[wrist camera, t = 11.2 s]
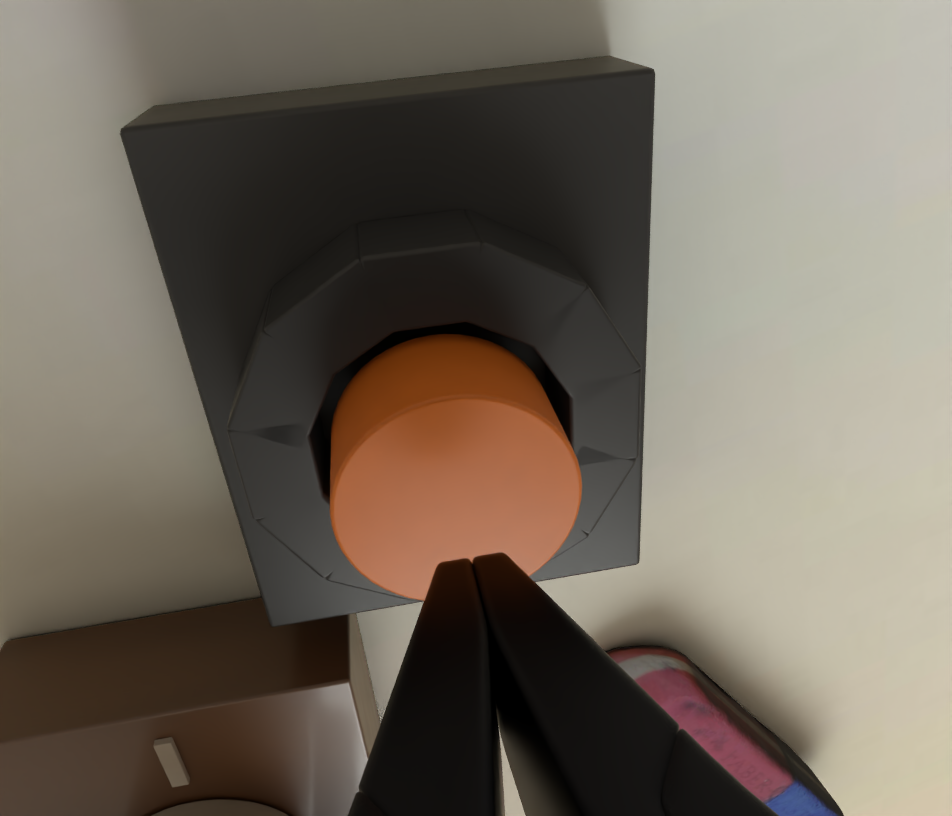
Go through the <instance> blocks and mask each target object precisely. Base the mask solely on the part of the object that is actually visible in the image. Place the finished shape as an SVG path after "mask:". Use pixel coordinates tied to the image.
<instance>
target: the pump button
mask: <svg viewBox="0 0 952 816" xmlns="http://www.w3.org/2000/svg"><path fill="white" fill-rule="evenodd" d="M581 495H582V479H581V471H580V467H579V463H578V459H577V457H576V455H575V453H574V450H573V448H572V446H571V444H570V442H569V440H568V438H567V436H566V434H565V432H564V430H563V428H562V426H561V424H560V422H559V420H558V418H557V416H556V413H555V411H554V409H553V407H552V405H551V403H550V401H549V399H548V397H547V395H546V393H545V391H544V389H543V387H542V385H541V383H540V382H539V380H538V378H537V377H536V375H535V374H534V372H533V371H532V370H531V369H530V368H529V367H528V366H527V365H526V363H525V362H523V361H522V360H521V359H520V358H519V357H517V356H516V355H515V354H513V353H512V352H510V351H509V350H507V349H505V348H504V347H502V346H500V345H497V344H495V343H493V342H491V341H488V340H484V339H481V338H478V337H473V336H467V335H461V334H438V335H428V336H423V337H419V338H414V339H411V340H408V341H405V342H402V343H400V344H398V345H395V346H393V347H391V348H389V349H387V350H385V351H384V352H382V353H381V354H379V355H378V356H376V357H374V358H373V359H372V360H371V361H369V362H368V363H367V364H366V365H365V366H363V367H362V368H361V369H360V370H359V371H358V372H357V374H356V375H355V376H354V377H353V378H352V379H351V381H350V382H349V383H348V385H347V386H346V388H345V389H344V391H343V393H342V395H341V397H340V399H339V401H338V403H337V406H336V409H335V412H334V415H333V421H332V426H331V469H330V518H331V525H332V529H333V532H334V535H335V538H336V541H337V542H338V544H339V546H340V548H341V550H342V552H343V553H344V555H345V556H346V557H347V559H348V560H349V562H350V563H351V564H352V565H353V566H354V567H355V568H356V569H357V570H358V571H359V572H360V573H361V574H362V575H364V576H365V577H366V578H367V579H369V580H370V581H371V582H373V583H375V584H376V585H378V586H380V587H382V588H383V589H386V590H388V591H390V592H393V593H395V594H398V595H401V596H404V597H408V598H412V599H417V600H423V601H424V600H425V598H426V595H427V592H428V589H429V586H430V583H431V581H432V578H433V575H434V572H435V569H436V567H437V565H438V564H439V563H441V562H445V561H451V560H457V559H462V558H468V559H469V560H470V561H471V562H472V560H473V558H474V557H476V556H480V555H486V554H492V553H498V552H503V553H505V554H506V555H508V556H509V557H510V558H511V559H512V560H513V561H514V562H515V563H516V564H517V565H518V566H519V567H520V568H521V569H522V570H523V571H524V572H525V573H526V574H527V575H528V576H530V575H532V574H533V573H534V572H536V571H537V570H539V569H540V568H541V567H542V566H543V565H544V564H545V563H547V562H548V561H549V560H550V559H551V558H552V557H553V555H554V554H555V553H556V552H557V551H558V550H559V549H560V547H561V546H562V544H563V543H564V542H565V540H566V539H567V537H568V535H569V533H570V531H571V530H572V528H573V526H574V523H575V520H576V518H577V515H578V511H579V507H580V502H581Z"/></svg>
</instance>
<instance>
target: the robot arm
mask: <svg viewBox="0 0 952 816" xmlns="http://www.w3.org/2000/svg"><path fill="white" fill-rule="evenodd" d="M498 725H499V727H498ZM499 729H500V734H501V738H502V741H503V745H504V748H505V752H506V755H507V758H508V762H509V765H510V768H511V771H512V774H513V777H514V780H515V784H516V787H517V790H518V793H519V796H520V799H521V802H522V805H523V809H524V812H525V815H526V816H779V815H778V814H777V813H775V812H774V811H773V810H772V809H771V808H769V807H768V806H767V805H766V804H765V803H763V802H762V801H761V800H760V799H759V798H757V797H756V796H755V795H754V794H753V793H751V792H750V791H749V790H748V789H747V788H746V787H744V786H743V785H742V784H741V783H740V782H739V781H738V780H737V779H736V778H735V777H734V776H733V775H732V774H730V773H729V772H728V771H727V770H726V769H725V768H724V767H723V766H722V765H721V764H720V763H719V762H718V761H716V760H715V759H714V758H713V757H712V756H711V755H710V754H709V753H708V752H707V751H706V750H705V749H704V748H703V747H702V746H701V745H700V744H699V743H698V742H697V741H696V740H695V739H694V738H693V737H692V736H691V735H690V734H689V733H688V732H687V731H686V730H684V729H680V730H679V724H678V723H677V722H676V721H675V720H674V719H673V718H672V717H671V716H670V715H669V714H668V713H667V712H666V711H665V710H664V709H663V708H662V707H661V706H660V705H659V704H658V703H657V702H656V701H655V700H654V699H653V698H652V697H651V696H650V695H649V694H648V693H647V692H646V691H645V690H644V689H643V688H642V687H641V686H640V685H639V684H638V683H637V682H636V681H635V680H634V679H633V678H632V677H631V676H630V675H629V674H628V673H626V672H625V671H624V670H623V669H622V668H621V667H620V666H619V665H618V664H617V663H616V662H615V661H614V660H613V659H612V658H611V657H610V656H609V655H608V654H607V653H606V652H605V651H604V650H603V649H602V648H601V647H600V646H599V645H598V644H597V643H596V642H595V641H594V640H593V639H592V638H591V637H590V636H589V635H588V634H587V633H586V632H585V631H584V630H583V629H582V628H581V627H580V626H579V625H578V624H577V623H576V622H575V621H574V620H573V619H572V618H571V617H570V616H569V615H568V614H567V613H566V612H565V611H564V610H563V609H562V608H561V607H559V606H558V605H557V604H556V603H555V602H554V601H553V600H552V599H551V598H550V597H549V596H548V595H547V594H546V593H545V592H544V591H543V590H542V589H541V588H540V587H539V586H538V585H537V584H536V583H535V582H534V581H533V580H532V579H531V578H530V577H529V576H528V575H527V574H526V573H525V572H524V571H523V570H522V569H521V568H520V567H519V566H518V565H517V564H516V563H515V562H514V561H513V560H512V559H511V558H510V557H509V556H508V555H506V554H505V553H503V552H498V553H492V554H486V555H480V556H476V557H474V558H473V560H472V562H471V561H470V560H469V559H468V558H462V559H457V560H451V561H445V562H441V563H439V564H438V565H437V567H436V569H435V572H434V575H433V578H432V581H431V583H430V586H429V589H428V592H427V595H426V598H425V600H424V603H423V606H422V609H421V612H420V614H419V617H418V620H417V623H416V626H415V629H414V631H413V634H412V637H411V640H410V643H409V645H408V648H407V651H406V654H405V657H404V660H403V662H402V665H401V668H400V671H399V674H398V677H397V679H396V682H395V685H394V688H393V691H392V693H391V696H390V699H389V702H388V705H387V708H386V710H385V713H384V716H383V719H382V722H381V724H380V727H379V730H378V733H377V736H376V739H375V741H374V744H373V747H372V750H371V753H370V755H369V758H368V761H367V764H366V767H365V770H364V772H363V775H362V778H361V781H360V784H359V792H357V793H356V794H355V797H354V800H353V802H352V805H351V808H350V811H349V814H348V816H505V806H504V791H503V775H502V759H501V748H500V737H499Z"/></svg>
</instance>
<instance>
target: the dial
mask: <svg viewBox="0 0 952 816" xmlns="http://www.w3.org/2000/svg"><path fill="white" fill-rule="evenodd" d="M152 816H288V815H287V814H285V813H283V812H281V811H279V810H277V809H275V808H272V807H269V806H266V805H263V804H259V803H255V802H249V801H243V800H232V799H214V800H202V801H195V802H189V803H185V804H181V805H177V806H174V807H171V808H168V809H165V810H162V811H160V812H158V813H156V814H153V815H152Z"/></svg>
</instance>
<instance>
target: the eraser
mask: <svg viewBox="0 0 952 816" xmlns="http://www.w3.org/2000/svg"><path fill="white" fill-rule="evenodd" d="M606 653H607V654H608V655H609V656H610V657H611V658H612V659H613V660H614V661H615V662H616V663H617V664H618V665H619V666H620V667H621V668H622V669H623V670H624V671H625V672H626V673H628V674H629V675H630V676H631V677H632V678H633V679H634V680H635V681H636V682H637V683H638V684H639V685H640V686H641V687H642V688H643V689H644V690H645V691H646V692H647V693H648V694H649V695H650V696H651V697H652V698H653V699H654V700H655V701H656V702H657V703H658V704H659V705H660V706H661V707H662V708H663V709H664V710H665V711H666V712H667V713H668V714H669V715H670V716H671V717H672V718H673V719H674V720H675V721H676V722H677V723H678V724H679V730H680V729H684V730H686V731H687V732H688V733H689V734H690V735H691V736H692V737H693V738H694V739H695V740H696V741H697V742H698V743H699V744H700V745H701V746H702V747H703V748H704V749H705V750H706V751H707V752H708V753H709V754H710V755H711V756H712V757H713V758H714V759H715V760H716V761H718V762H719V763H720V764H721V765H722V766H723V767H724V768H725V769H726V770H727V771H728V772H729V773H730V774H732V775H733V776H734V777H735V778H736V779H737V780H738V781H739V782H740V783H741V784H742V785H743V786H744V787H746V788H747V789H748V790H749V791H750V792H751V793H753V794H754V795H755V796H756V797H757V798H759V799H760V800H761V801H762V802H763V803H765V804H766V805H767V806H768V807H769V808H771V809H772V810H773V811H774V812H775V813H777V814H778V815H779V816H844V815H843V813H842V811H841V809H840V808H839V806H838V805H837V803H836V802H835V801H834V799H833V798H832V797H831V795H830V794H829V793H828V792H827V790H826V789H825V788H824V786H823V785H822V784H821V782H820V781H819V780H818V778H817V777H816V776H815V774H814V773H813V772H812V770H811V769H810V768H809V767H808V766H807V765H806V764H805V763H804V762H803V761H802V760H801V759H800V758H799V757H798V756H797V755H796V754H795V753H794V752H793V751H792V750H791V749H790V748H789V747H788V746H787V745H786V744H785V743H784V742H783V741H781V740H780V739H779V738H778V737H777V736H776V735H775V734H774V733H772V732H771V731H770V730H769V729H767V728H766V727H765V726H764V725H762V724H761V723H760V722H759V721H757V720H756V719H755V718H754V717H752V716H751V715H750V714H749V713H748V712H747V711H746V710H745V709H744V708H742V707H741V706H740V705H739V704H738V703H737V702H736V701H735V700H734V699H733V698H732V697H730V696H729V695H728V694H727V693H726V692H725V691H724V690H723V689H722V688H720V687H719V686H718V685H717V684H716V683H715V682H714V681H713V680H712V679H710V678H709V677H708V676H707V675H706V674H705V673H704V672H703V671H702V670H700V669H699V668H698V667H697V666H696V665H695V664H694V663H692V662H691V661H690V660H689V659H688V658H687V657H686V656H685V655H683V654H682V653H680V652H678V651H676V650H672V649H668V648H664V647H660V646H637V647H625V648H619V649H613V650H611V651H608V652H606Z"/></svg>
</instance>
